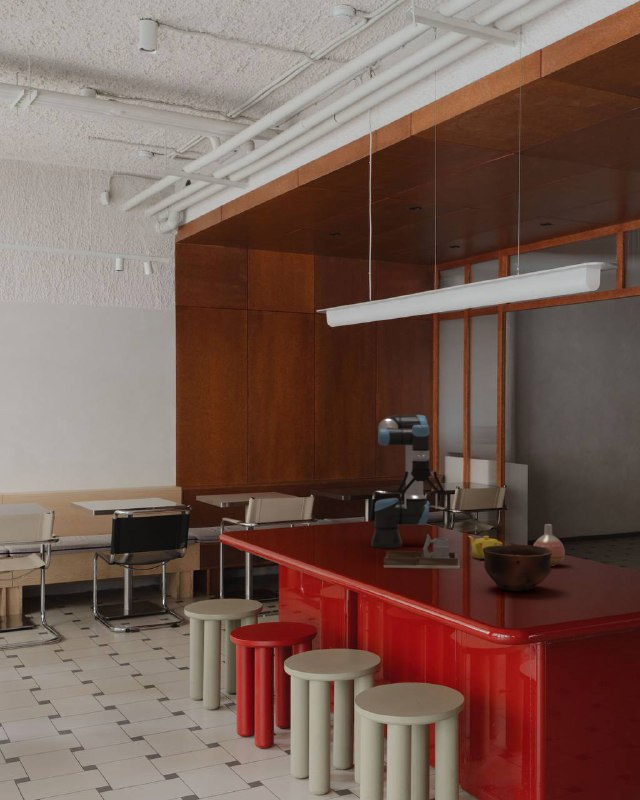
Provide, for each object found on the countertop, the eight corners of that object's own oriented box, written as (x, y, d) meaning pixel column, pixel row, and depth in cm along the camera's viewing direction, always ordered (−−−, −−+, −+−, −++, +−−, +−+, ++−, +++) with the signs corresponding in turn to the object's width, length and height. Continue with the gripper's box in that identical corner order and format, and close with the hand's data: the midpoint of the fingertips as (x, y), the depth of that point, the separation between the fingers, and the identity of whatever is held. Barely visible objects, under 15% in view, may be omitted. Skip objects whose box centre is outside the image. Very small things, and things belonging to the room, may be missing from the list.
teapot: (472, 561, 399) (471, 538, 399) (467, 556, 412) (467, 534, 412) (503, 561, 399) (502, 538, 399) (497, 556, 412) (497, 534, 412)
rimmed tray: (386, 559, 404) (386, 550, 404) (458, 560, 400) (458, 551, 400) (383, 567, 384) (383, 557, 384) (459, 568, 380) (459, 559, 380)
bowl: (509, 598, 318) (508, 555, 318) (470, 586, 341) (470, 546, 341) (566, 593, 328) (565, 551, 328) (524, 581, 351) (524, 542, 351)
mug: (452, 562, 388) (452, 535, 389) (426, 563, 386) (426, 535, 386) (446, 560, 396) (446, 532, 396) (420, 561, 394) (420, 533, 394)
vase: (530, 567, 383) (530, 525, 383) (534, 562, 396) (533, 522, 396) (563, 569, 378) (563, 527, 378) (566, 564, 391) (566, 523, 391)
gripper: (392, 460, 394) (392, 509, 394) (449, 460, 391) (449, 509, 392) (392, 459, 401) (392, 506, 402) (449, 459, 399) (449, 507, 399)
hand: (420, 508), depth 397 cm, fingers open, 13 cm apart
